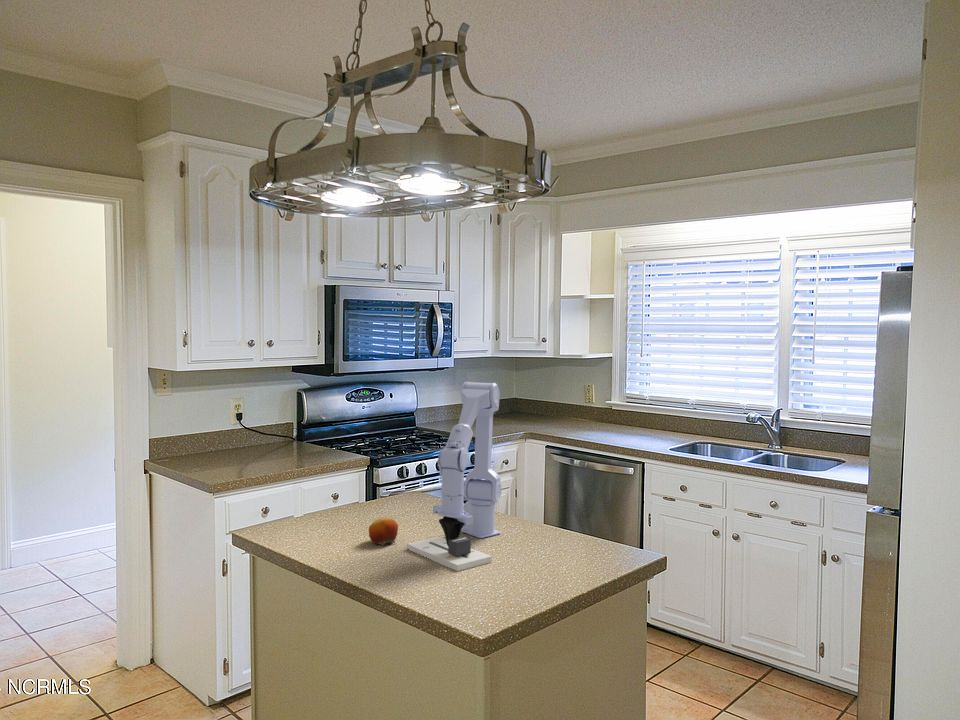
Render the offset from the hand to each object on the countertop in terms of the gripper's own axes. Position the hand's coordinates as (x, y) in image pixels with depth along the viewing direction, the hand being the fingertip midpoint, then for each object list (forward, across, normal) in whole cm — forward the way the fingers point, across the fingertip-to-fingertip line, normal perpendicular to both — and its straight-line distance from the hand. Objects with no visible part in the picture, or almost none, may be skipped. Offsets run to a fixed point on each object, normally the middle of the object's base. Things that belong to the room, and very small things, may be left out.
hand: (452, 546), depth 189 cm
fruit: (+3, -22, -7) cm, 23 cm away
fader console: (+3, -2, 0) cm, 3 cm away
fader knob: (+1, +3, 0) cm, 3 cm away
